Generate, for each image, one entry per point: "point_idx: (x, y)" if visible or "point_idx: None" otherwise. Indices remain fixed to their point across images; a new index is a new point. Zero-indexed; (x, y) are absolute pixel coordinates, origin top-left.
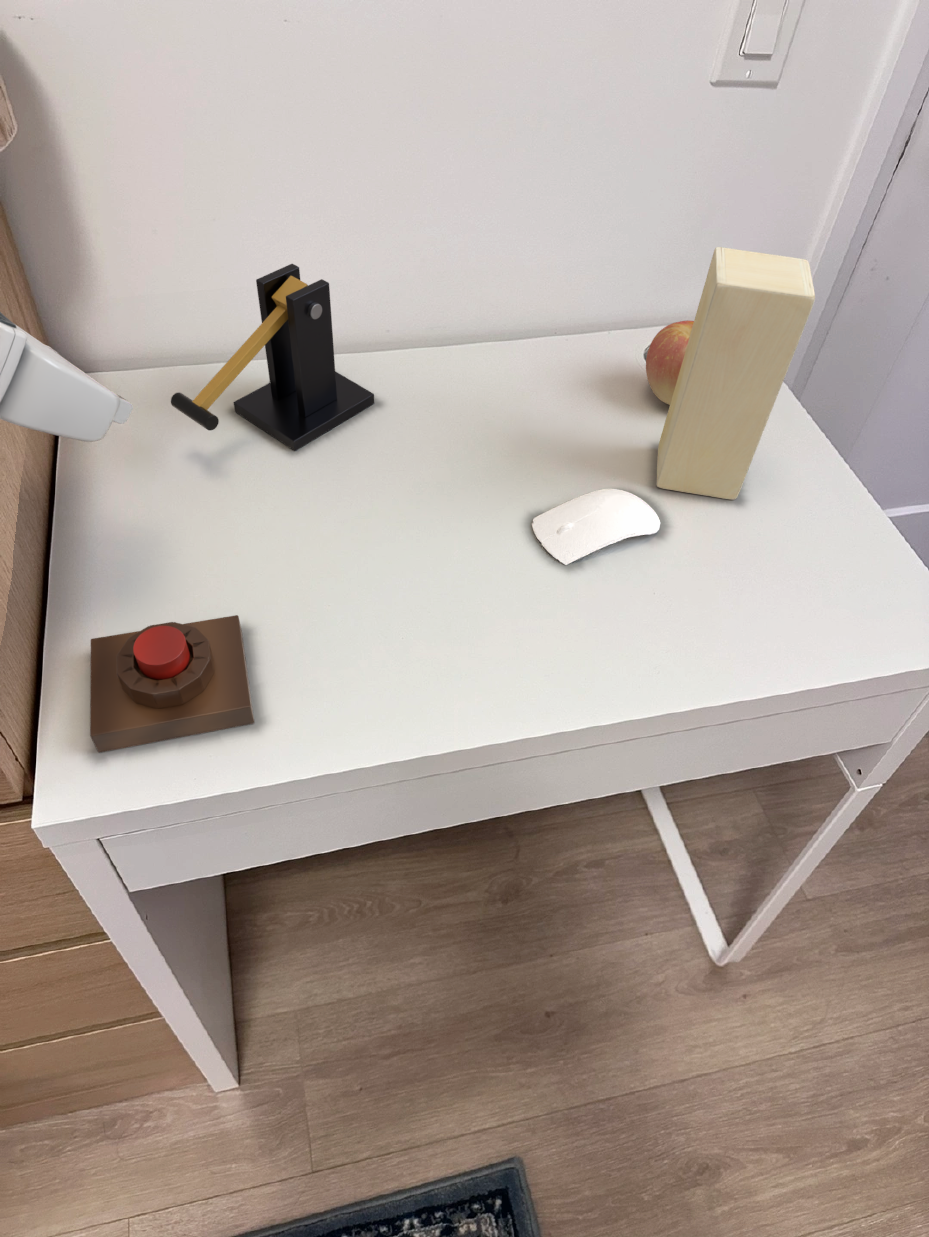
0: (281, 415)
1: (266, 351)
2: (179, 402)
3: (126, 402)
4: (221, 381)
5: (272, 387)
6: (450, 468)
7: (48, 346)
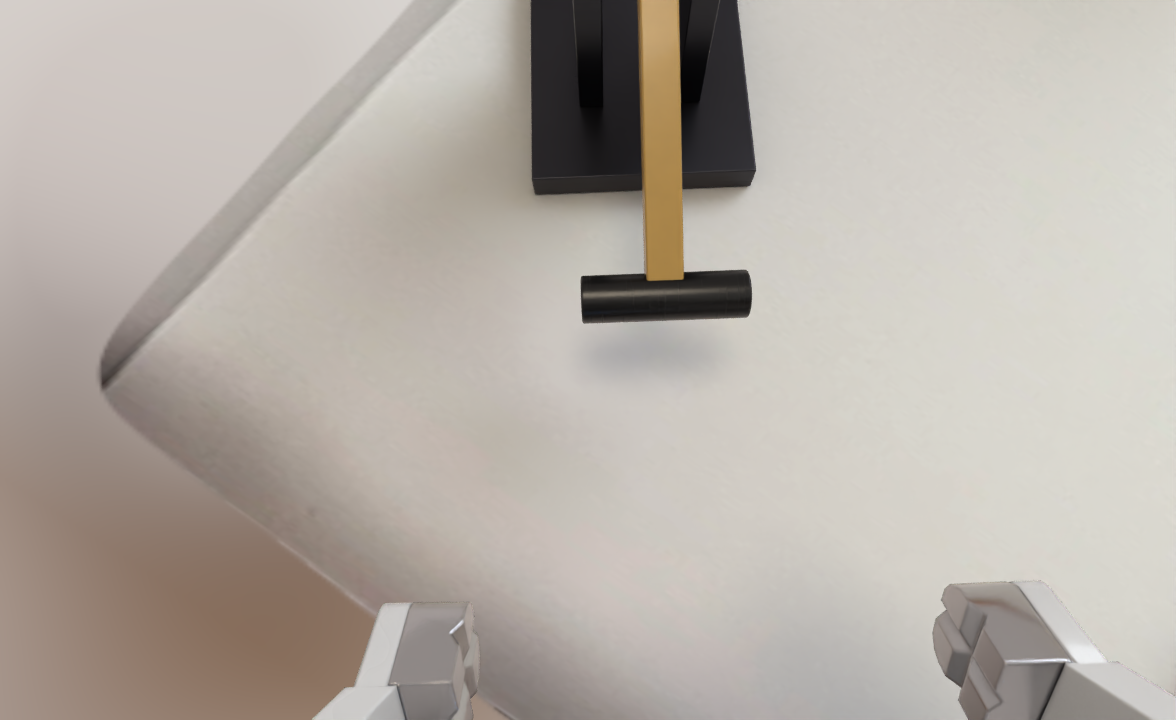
0: None
1: (577, 8)
2: (620, 307)
3: (1062, 607)
4: (680, 173)
5: (587, 86)
6: (1011, 2)
7: (387, 619)
